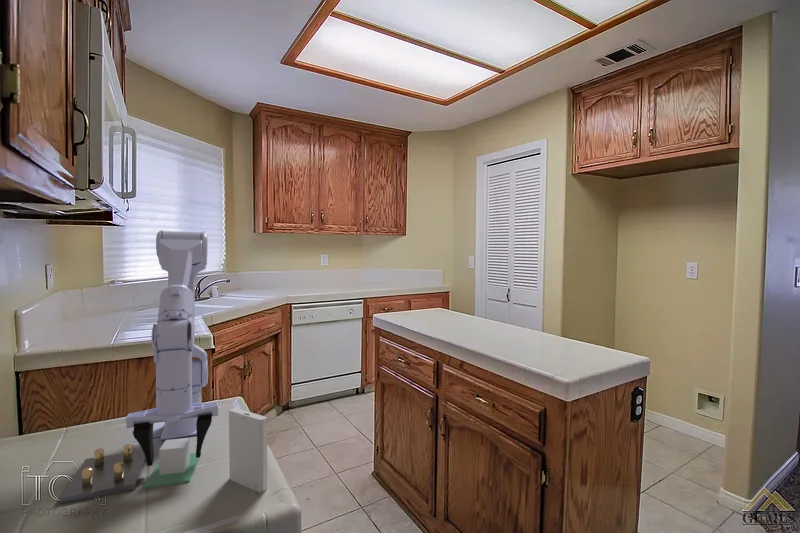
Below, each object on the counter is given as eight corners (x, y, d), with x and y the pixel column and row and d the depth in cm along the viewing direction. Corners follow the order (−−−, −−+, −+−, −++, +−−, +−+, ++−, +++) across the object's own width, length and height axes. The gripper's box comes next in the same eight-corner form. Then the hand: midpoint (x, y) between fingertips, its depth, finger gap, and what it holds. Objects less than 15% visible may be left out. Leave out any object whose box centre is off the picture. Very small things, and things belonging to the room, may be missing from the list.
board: (162, 460, 78) (161, 433, 78) (201, 456, 80) (201, 430, 80) (143, 490, 69) (143, 459, 68) (189, 484, 70) (189, 454, 70)
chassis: (85, 464, 76) (85, 445, 76) (148, 454, 80) (147, 436, 80) (60, 503, 64) (59, 482, 64) (134, 489, 68) (134, 469, 68)
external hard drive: (260, 494, 67) (260, 420, 67) (228, 480, 71) (227, 410, 71) (268, 489, 69) (268, 416, 68) (236, 475, 73) (235, 407, 72)
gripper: (121, 398, 67) (122, 478, 68) (217, 387, 73) (218, 461, 73) (130, 385, 74) (131, 458, 74) (218, 376, 79) (218, 444, 80)
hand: (175, 459), depth 74 cm, fingers open, 7 cm apart
